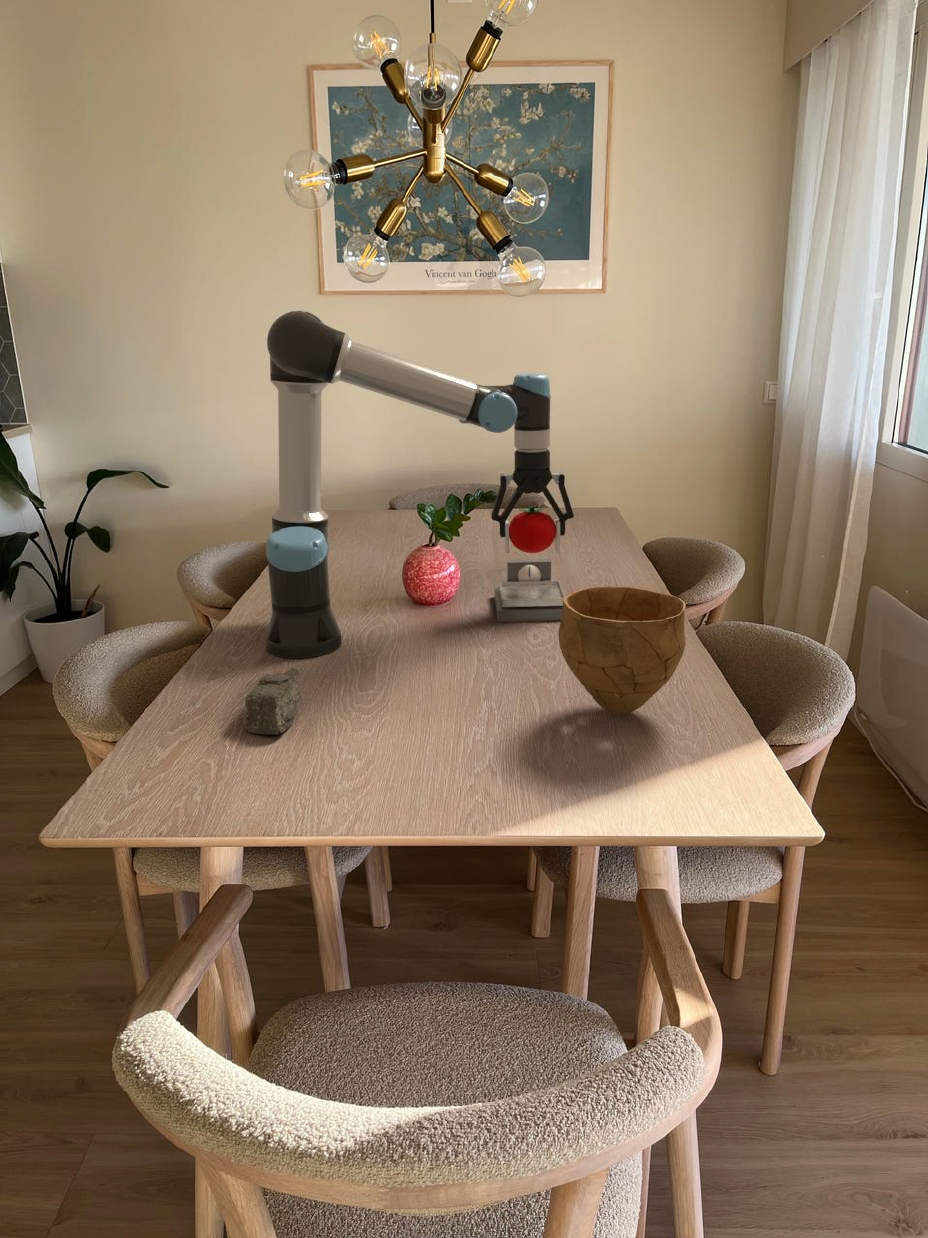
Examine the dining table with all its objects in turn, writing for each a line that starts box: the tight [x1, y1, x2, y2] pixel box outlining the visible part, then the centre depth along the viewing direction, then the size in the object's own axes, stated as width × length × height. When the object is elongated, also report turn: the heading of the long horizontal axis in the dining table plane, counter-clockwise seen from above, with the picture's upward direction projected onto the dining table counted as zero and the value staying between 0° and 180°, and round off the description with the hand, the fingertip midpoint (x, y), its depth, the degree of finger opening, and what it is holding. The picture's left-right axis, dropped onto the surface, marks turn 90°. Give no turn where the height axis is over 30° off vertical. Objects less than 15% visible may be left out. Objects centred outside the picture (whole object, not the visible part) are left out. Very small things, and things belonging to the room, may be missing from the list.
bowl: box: [557, 586, 687, 717], centre depth 153 cm, size 21×20×20 cm
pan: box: [498, 579, 567, 607], centre depth 208 cm, size 14×14×2 cm
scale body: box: [493, 558, 567, 623], centre depth 209 cm, size 18×16×9 cm
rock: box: [242, 667, 302, 736], centre depth 156 cm, size 17×7×10 cm
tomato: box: [509, 505, 556, 554], centre depth 203 cm, size 10×10×10 cm
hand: (532, 550), depth 205 cm, fingers closed on tomato, 10 cm apart
